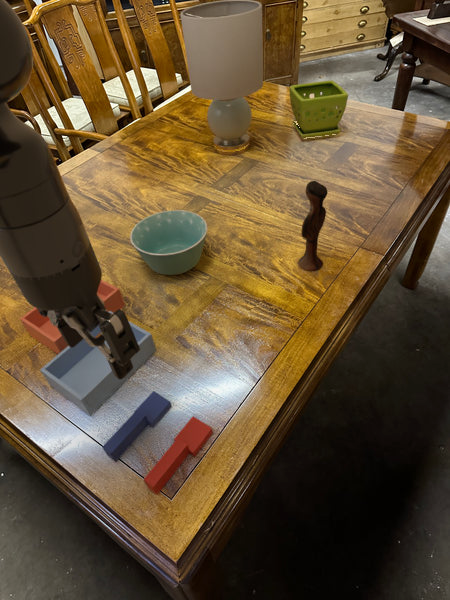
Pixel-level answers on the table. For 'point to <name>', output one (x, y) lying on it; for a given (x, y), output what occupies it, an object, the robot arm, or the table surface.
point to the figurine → (313, 226)
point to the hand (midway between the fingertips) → (100, 357)
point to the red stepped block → (178, 453)
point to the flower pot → (318, 108)
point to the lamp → (225, 65)
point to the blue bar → (137, 425)
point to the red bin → (50, 334)
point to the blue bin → (92, 371)
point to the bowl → (170, 240)
